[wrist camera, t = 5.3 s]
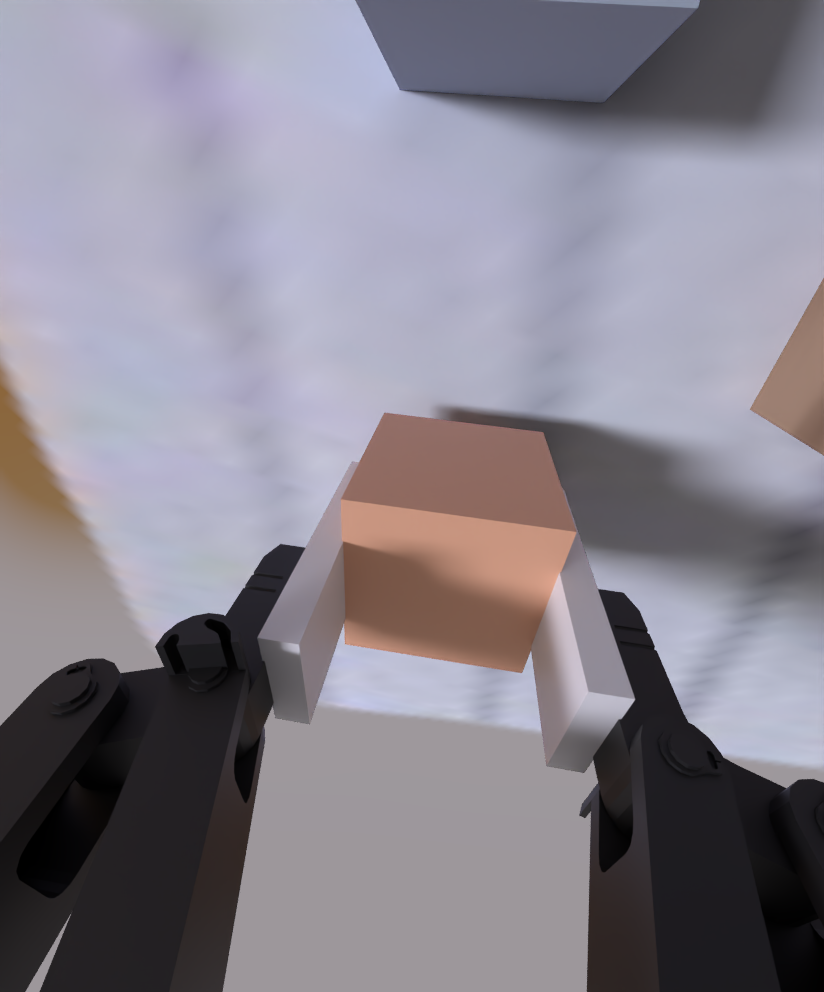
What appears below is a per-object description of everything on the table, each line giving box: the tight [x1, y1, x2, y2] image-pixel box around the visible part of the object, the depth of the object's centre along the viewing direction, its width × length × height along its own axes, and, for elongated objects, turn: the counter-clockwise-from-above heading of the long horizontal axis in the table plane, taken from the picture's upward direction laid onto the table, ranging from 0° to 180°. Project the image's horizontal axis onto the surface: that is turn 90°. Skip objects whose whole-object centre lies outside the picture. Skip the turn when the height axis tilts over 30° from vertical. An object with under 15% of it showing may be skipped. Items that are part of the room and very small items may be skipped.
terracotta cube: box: [341, 413, 577, 673], centre depth 12 cm, size 5×5×5 cm
